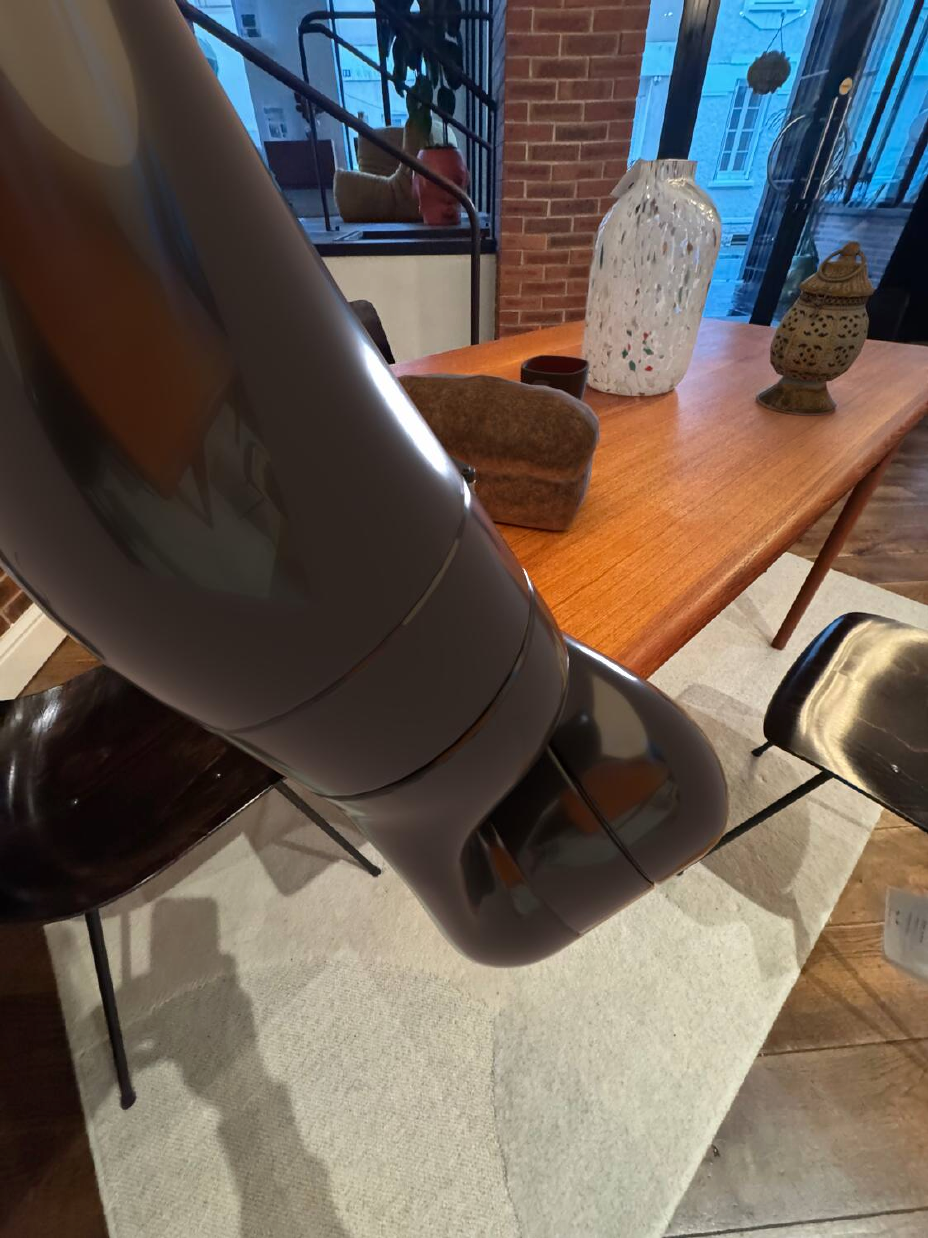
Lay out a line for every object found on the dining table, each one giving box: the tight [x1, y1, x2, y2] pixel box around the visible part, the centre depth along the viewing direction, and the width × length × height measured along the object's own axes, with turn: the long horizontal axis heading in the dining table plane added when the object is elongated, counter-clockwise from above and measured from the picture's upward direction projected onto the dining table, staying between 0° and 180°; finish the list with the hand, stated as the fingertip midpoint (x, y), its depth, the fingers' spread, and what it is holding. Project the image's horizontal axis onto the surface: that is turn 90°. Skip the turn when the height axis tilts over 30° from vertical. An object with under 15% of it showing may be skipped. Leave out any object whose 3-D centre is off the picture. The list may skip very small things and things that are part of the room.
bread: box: [396, 372, 601, 531], centre depth 68 cm, size 15×32×16 cm, turn 70°
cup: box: [519, 354, 590, 402], centre depth 82 cm, size 10×14×12 cm
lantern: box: [755, 240, 875, 417], centre depth 90 cm, size 14×14×25 cm
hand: (351, 450), depth 42 cm, fingers closed on robot figurine, 4 cm apart
